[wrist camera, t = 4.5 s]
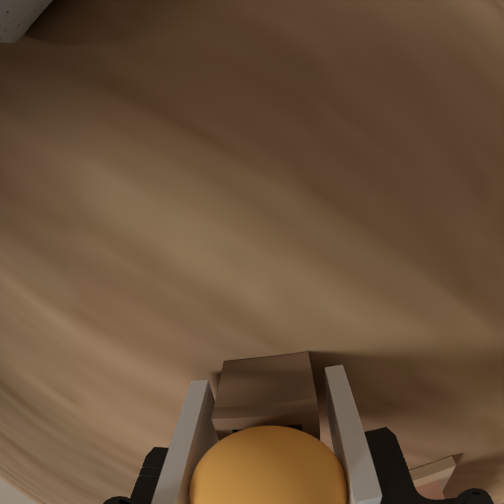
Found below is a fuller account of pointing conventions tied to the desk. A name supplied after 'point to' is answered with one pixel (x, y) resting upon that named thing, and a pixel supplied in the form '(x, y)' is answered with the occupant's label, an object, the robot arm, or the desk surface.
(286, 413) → the stand
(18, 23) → the ceramic mug
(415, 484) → the double square tube
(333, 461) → the ball
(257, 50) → the desk surface
